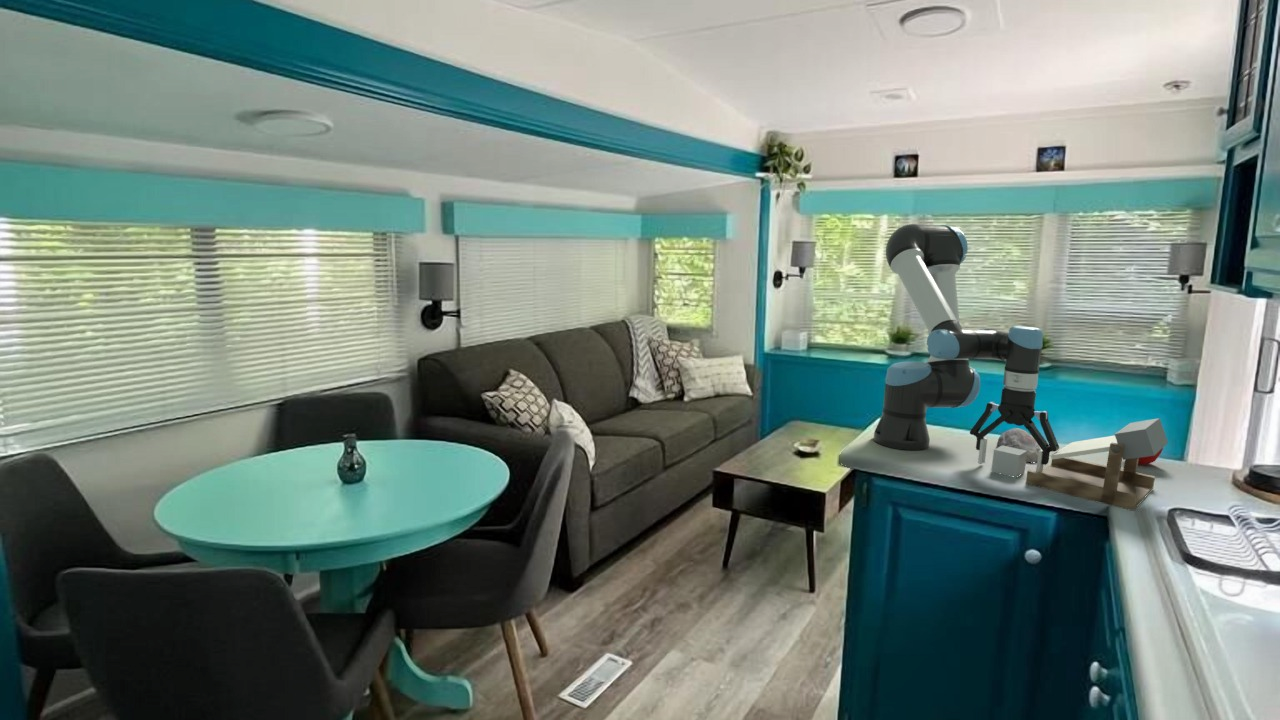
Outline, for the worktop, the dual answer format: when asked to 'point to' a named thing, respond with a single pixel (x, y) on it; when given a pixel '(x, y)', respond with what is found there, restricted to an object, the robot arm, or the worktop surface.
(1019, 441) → the stone
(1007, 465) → the granite block
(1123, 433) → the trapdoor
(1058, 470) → the wooden trebuchet model
